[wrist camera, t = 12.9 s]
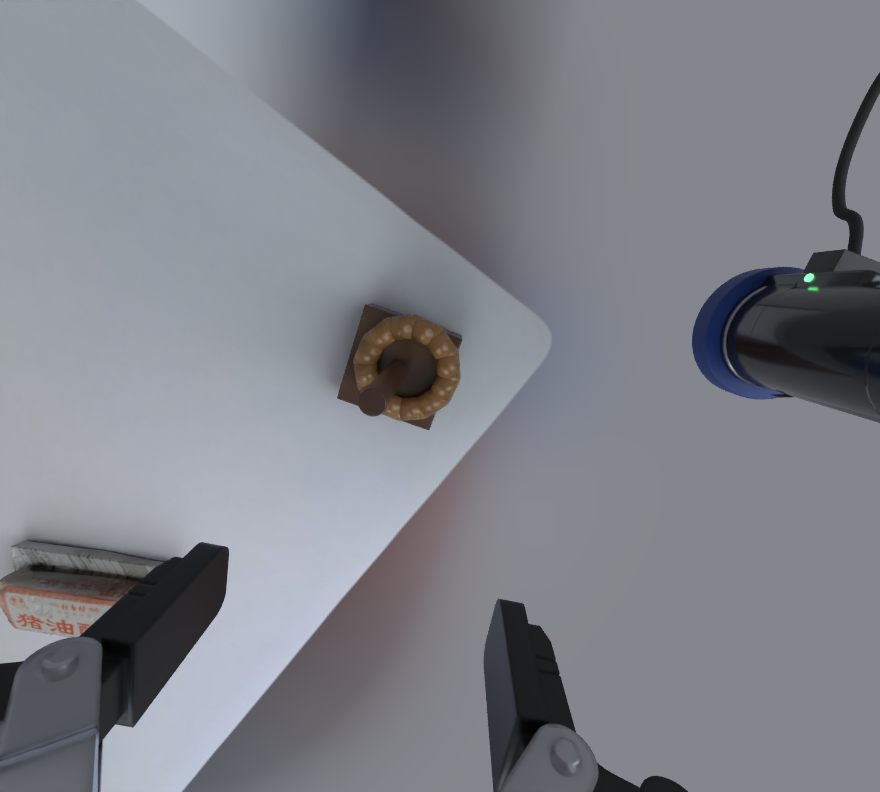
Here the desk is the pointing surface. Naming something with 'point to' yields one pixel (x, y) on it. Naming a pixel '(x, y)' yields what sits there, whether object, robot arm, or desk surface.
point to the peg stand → (392, 369)
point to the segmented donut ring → (424, 334)
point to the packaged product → (66, 586)
